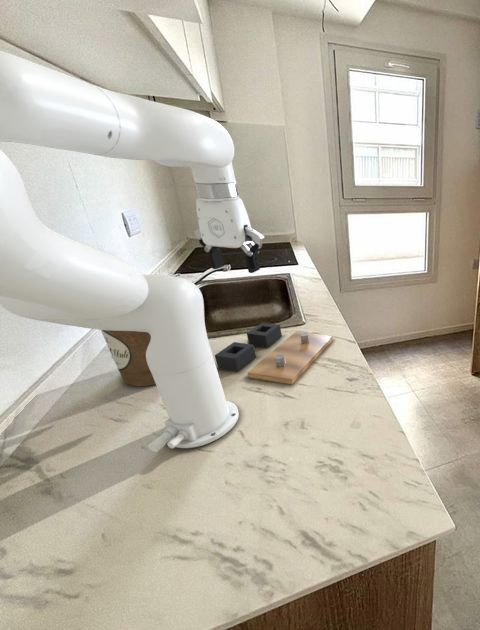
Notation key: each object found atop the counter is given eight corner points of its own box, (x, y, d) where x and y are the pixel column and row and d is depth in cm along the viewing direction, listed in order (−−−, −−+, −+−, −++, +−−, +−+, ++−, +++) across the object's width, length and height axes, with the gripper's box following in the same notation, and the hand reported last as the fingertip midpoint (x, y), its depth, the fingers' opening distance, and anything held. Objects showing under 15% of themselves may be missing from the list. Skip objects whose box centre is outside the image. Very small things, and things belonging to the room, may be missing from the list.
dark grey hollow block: (267, 348, 94) (265, 335, 93) (249, 345, 95) (246, 333, 94) (282, 336, 101) (279, 324, 99) (264, 334, 102) (262, 322, 100)
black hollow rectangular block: (238, 371, 84) (235, 358, 82) (218, 368, 85) (214, 355, 83) (256, 357, 90) (253, 344, 88) (237, 354, 91) (234, 341, 89)
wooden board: (292, 384, 80) (289, 370, 78) (248, 377, 82) (245, 364, 80) (332, 340, 99) (331, 328, 97) (296, 335, 101) (294, 324, 99)
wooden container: (124, 365, 86) (88, 285, 76) (191, 347, 94) (167, 273, 84) (121, 395, 75) (80, 306, 65) (198, 372, 83) (171, 291, 74)
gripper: (168, 191, 68) (192, 271, 76) (241, 195, 65) (258, 278, 72) (198, 188, 75) (217, 261, 82) (265, 191, 71) (279, 267, 79)
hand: (236, 269), depth 77 cm, fingers open, 9 cm apart
